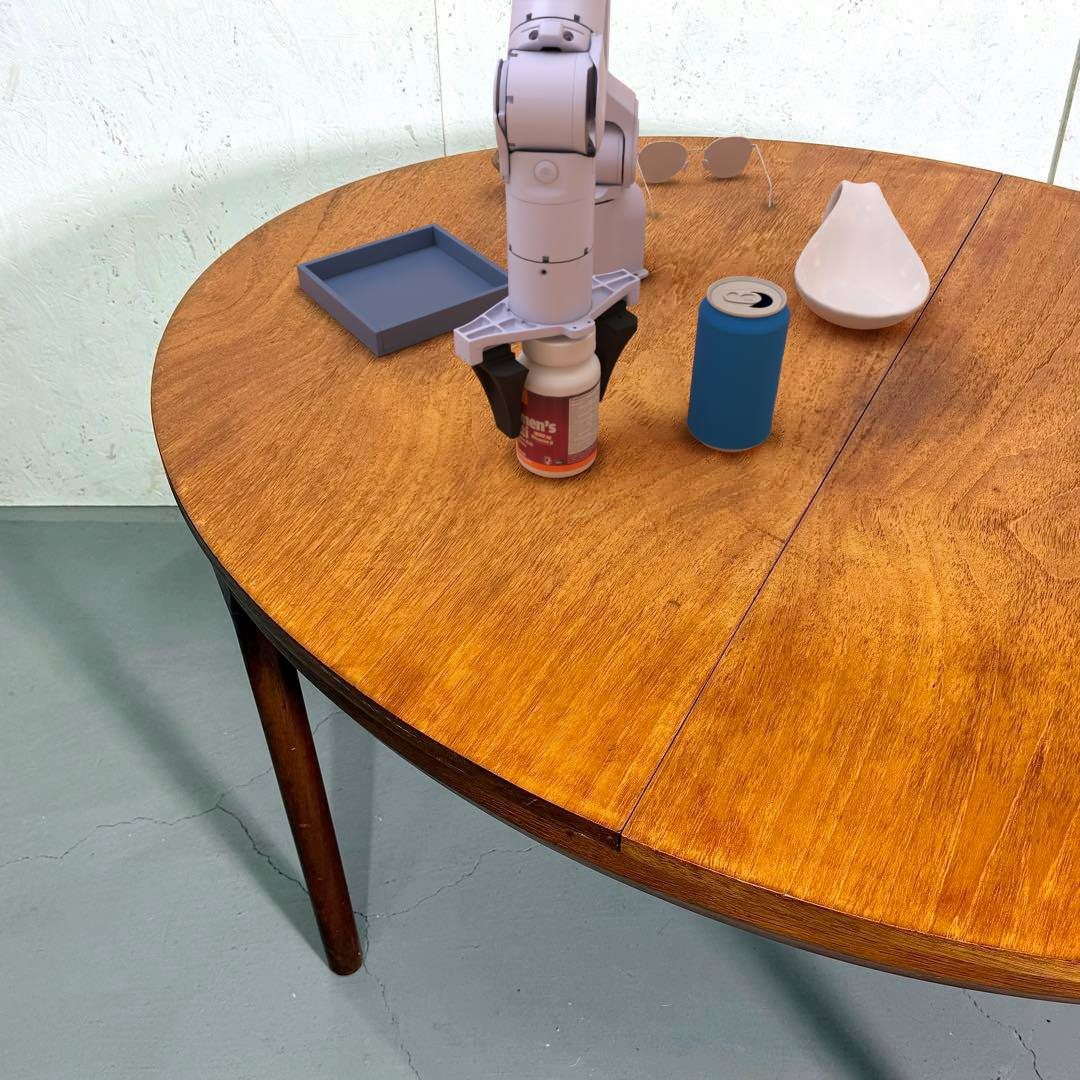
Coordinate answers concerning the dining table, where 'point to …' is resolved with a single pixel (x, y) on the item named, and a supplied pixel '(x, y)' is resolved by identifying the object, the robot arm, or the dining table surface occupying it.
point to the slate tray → (404, 287)
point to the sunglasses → (671, 156)
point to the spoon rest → (861, 263)
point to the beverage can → (737, 362)
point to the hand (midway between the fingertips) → (550, 413)
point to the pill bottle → (559, 405)
